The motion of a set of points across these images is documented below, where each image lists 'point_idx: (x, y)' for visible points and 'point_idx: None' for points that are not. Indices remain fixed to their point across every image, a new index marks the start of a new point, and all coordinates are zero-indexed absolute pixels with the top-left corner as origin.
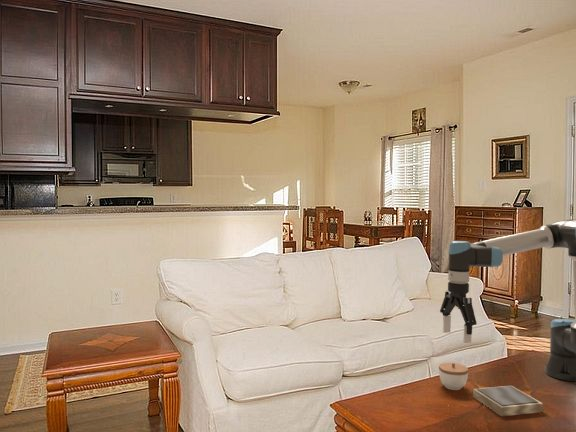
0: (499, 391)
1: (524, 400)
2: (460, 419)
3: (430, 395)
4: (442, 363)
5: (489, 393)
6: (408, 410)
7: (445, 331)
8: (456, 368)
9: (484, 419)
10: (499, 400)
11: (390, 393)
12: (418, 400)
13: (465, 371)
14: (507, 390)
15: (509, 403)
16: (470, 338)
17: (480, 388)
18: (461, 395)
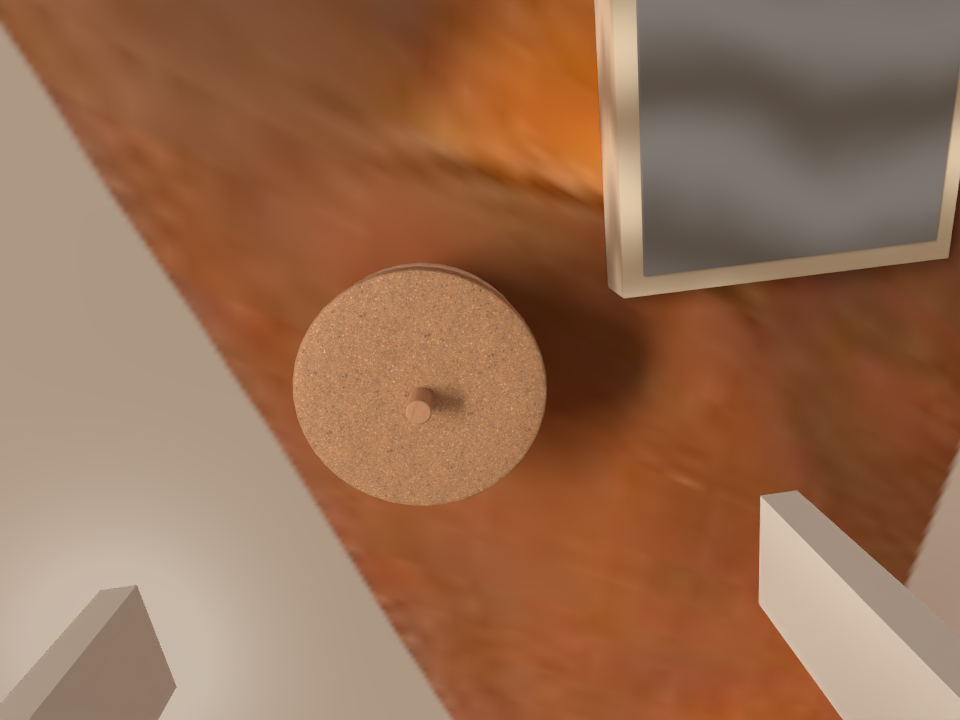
0: (723, 120)
1: (926, 6)
2: (858, 488)
3: (545, 526)
4: (321, 452)
5: (738, 224)
6: (702, 676)
7: (157, 684)
8: (463, 388)
9: (899, 368)
10: (867, 217)
11: (494, 702)
12: (600, 604)
13: (529, 334)
14: (719, 32)
15: (930, 169)
16: (844, 552)
17: (624, 237)
18: (571, 349)
